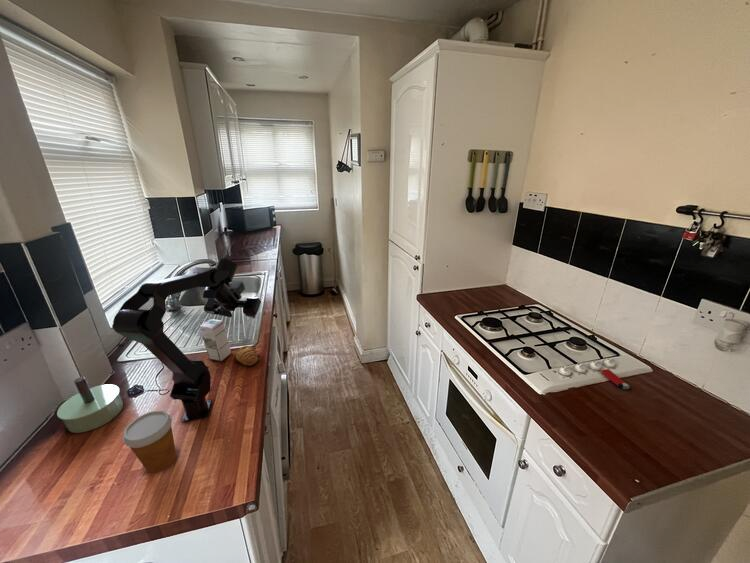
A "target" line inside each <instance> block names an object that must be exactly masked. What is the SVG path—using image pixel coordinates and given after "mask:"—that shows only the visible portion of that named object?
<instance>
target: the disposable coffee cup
mask: <svg viewBox="0 0 750 563" xmlns="http://www.w3.org/2000/svg"><path fill="white" fill-rule="evenodd" d="M172 424H173V417H172V416H171V414H169V413H167V411H165V410H152V411H148V412H145V413H144V414H141V415H139V416H138V417H136V418H134V419H133V420H132V421H130V422H129V423H128V425H127V426H126V427H125V429H124V431H123V436H122V442H123V444H124V445H125V446H127V447H129V448H130V449H131V451H132V453H133V454H134V455H135V456H136V458H137V459H138V461H139V462H140V463H141V465H142V466H143V467H144V469H145V470H146V472H148V473H152V474H155V473H159V472H161V471H164V470H165V469H167V468H168V467H170V466H171V465H172V463H174V461H175V460H176V458H177V451H176V446H175V440H174V434H173V426H172Z"/></svg>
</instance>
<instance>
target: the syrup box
mask: <svg viewBox="0 0 750 563" xmlns="http://www.w3.org/2000/svg"><path fill="white" fill-rule="evenodd" d="M199 329H200V333H201V336H202V339H203V340H202V341H203V343H204V346H205V350H206V353H207V357H208V359H209V360H213V361H217V362H218V361H219V362H222V361H223V360H225V359H226V358H227V357H228V356H229V355H231V353H232V350H231V347H230V343H229V338H228V335H227V331H226V326H225V322H224V320H223V319H214V318H210V319H208V320H206V321H204V322H203V323H201V324H200V325H199Z"/></svg>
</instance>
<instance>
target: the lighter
mask: <svg viewBox="0 0 750 563" xmlns="http://www.w3.org/2000/svg"><path fill="white" fill-rule="evenodd" d="M600 372H601V374H603V376H605V377H606V378H608V379H609V381H611V382H612V383H613V384H614V385H616V386H617V387H618V388H620V389H623V390H628V389H630V385H629V384H628V383H626V382H625V381H624V380H623V379H621V378H620V376H618V375H616V373H614V372H613V371H612V370H610V369H609V368H607V369H602V370H601V371H600Z"/></svg>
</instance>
